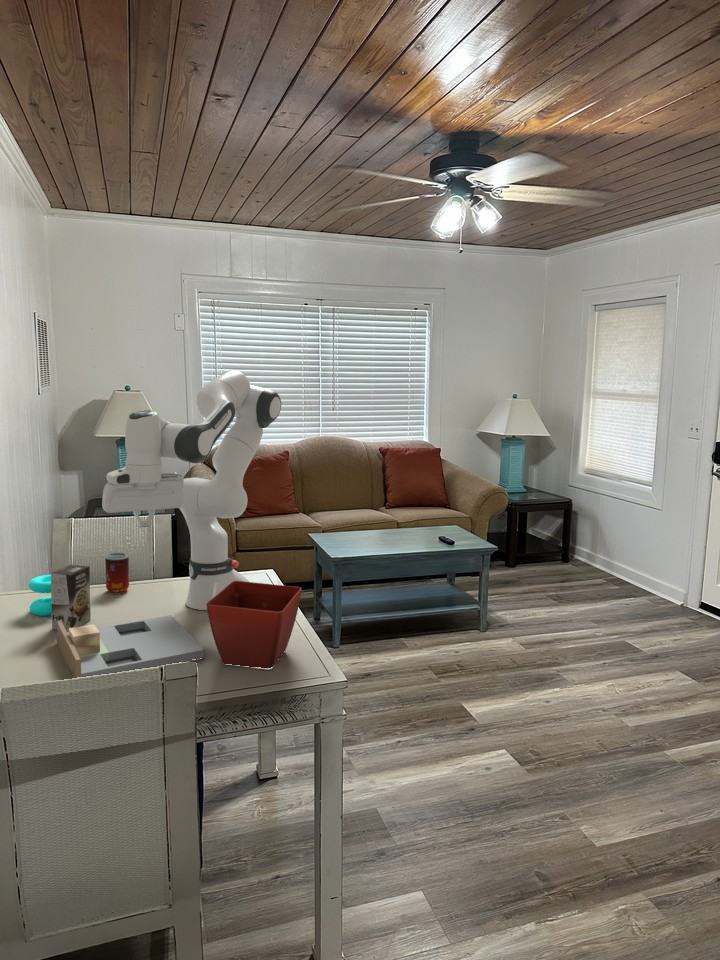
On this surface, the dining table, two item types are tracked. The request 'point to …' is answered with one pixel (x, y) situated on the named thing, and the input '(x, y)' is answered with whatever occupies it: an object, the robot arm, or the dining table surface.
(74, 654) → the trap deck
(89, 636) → the oak block
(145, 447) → the robot arm
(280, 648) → the plant pot
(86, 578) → the coffee box
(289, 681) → the dining table surface
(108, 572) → the soda can
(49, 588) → the cyan spool
